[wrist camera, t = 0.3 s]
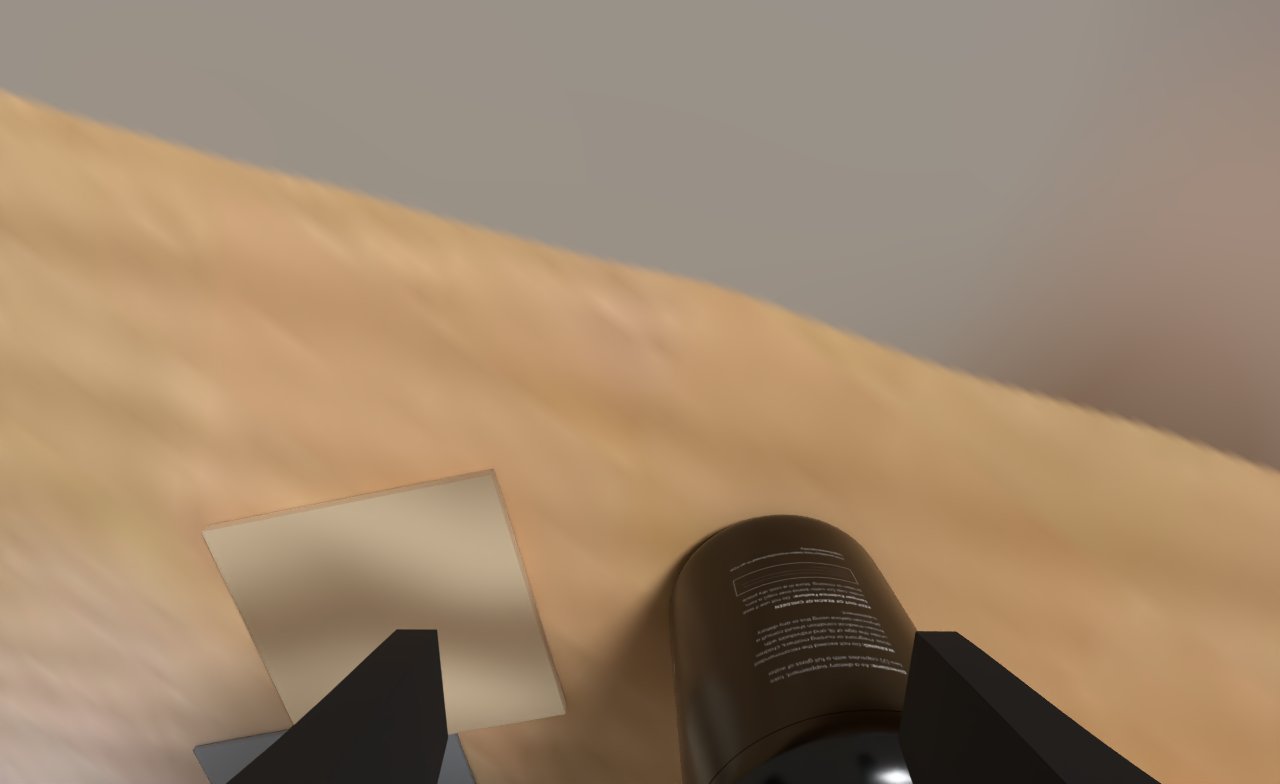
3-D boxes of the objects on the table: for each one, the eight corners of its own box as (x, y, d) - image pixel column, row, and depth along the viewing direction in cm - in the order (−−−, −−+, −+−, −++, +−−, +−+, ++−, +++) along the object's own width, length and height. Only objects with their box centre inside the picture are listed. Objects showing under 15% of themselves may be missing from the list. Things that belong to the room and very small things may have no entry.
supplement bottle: (630, 639, 21) (624, 1164, 10) (735, 470, 20) (873, 880, 8) (807, 715, 22) (984, 1269, 11) (923, 562, 21) (1279, 1038, 9)
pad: (566, 705, 22) (565, 714, 22) (315, 749, 23) (309, 759, 22) (493, 468, 19) (490, 474, 19) (209, 525, 20) (201, 532, 20)
